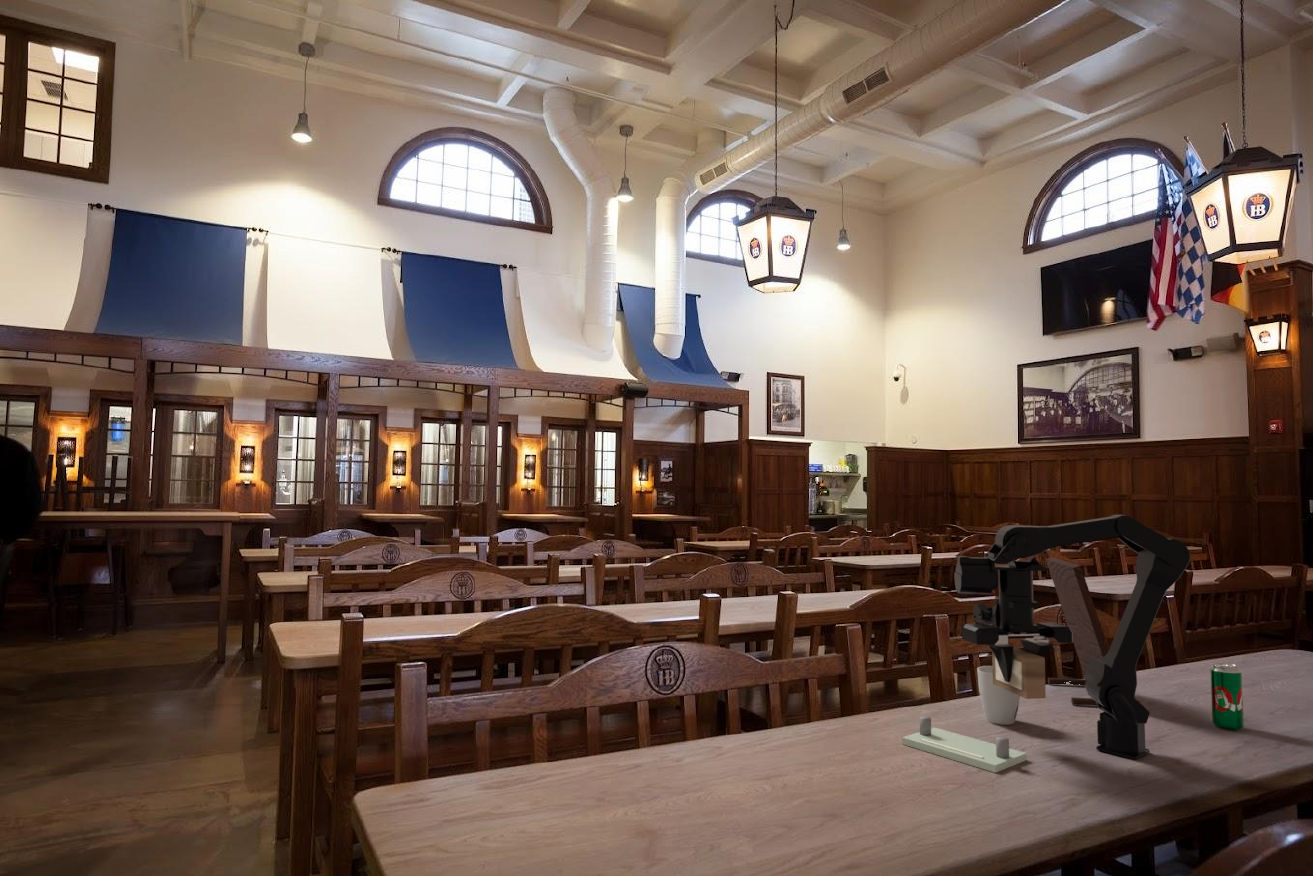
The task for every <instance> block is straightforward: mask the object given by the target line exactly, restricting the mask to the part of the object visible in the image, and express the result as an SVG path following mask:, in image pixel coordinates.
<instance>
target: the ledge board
mask: <svg viewBox="0 0 1313 876" xmlns="http://www.w3.org/2000/svg"><path fill="white" fill-rule="evenodd" d="M901 741H902V742H901V744H902V745H903V746H908V747H911V748H914V749H917V750H920V751H923V752H926V753H927V752H928V753H929V754H930V753H931V754H932V755H937V756H940V757H943V758H946V759H949V760H953V761H956V762H960V763H962V764H966V765H969V766H972V767H976V768H978V769H982V770H985V771H988V772H991V773H998V772H1001V771H1004V770H1006V769H1008V768H1011V767H1013V766H1015V765H1019V764H1021V763H1023V762H1026V761H1027V760H1028V755H1027V752H1024V751H1021V750H1017V749H1013V748H1010V738H1008V737H1005V736H996V737H995V743H991V742H987V741H984V740H981V739H978V738H974V737H971V736H967V735H963V734H959V733H956V732H952V731H949V730H946V729H943V728H937V727H934V726H933V727H932V717H930V716H924V715H921V716H919V731H918V732H915V733H912V734H908V735H906V736H903V737H902V738H901Z"/></svg>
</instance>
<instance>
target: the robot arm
mask: <svg viewBox="0 0 1313 876" xmlns="http://www.w3.org/2000/svg"><path fill="white" fill-rule="evenodd" d="M1111 539H1118V540H1120V542H1122V543H1123V544H1125V546H1127V547H1128V549H1131V550H1132V551H1134V552H1135V553H1136V554H1137V558H1136V562H1135V569H1136V571H1135V572H1136V582H1135V585H1134V587H1133V590H1132V592H1131V595H1130V598H1129V600H1128V602H1127V605H1126V608H1125V609H1124V613H1123V614H1122V617H1121V620H1120V622H1119V624H1118V627H1117V630H1116V632H1115V635H1114V637H1113V640H1112V641H1111V644H1110V646H1109V651H1108V653H1107V654H1106V655H1105V656H1104V657H1103V658H1102V659H1101V660H1100V661H1099V660H1097V659H1095V658H1092V659H1091V661H1090V665H1089V669H1088V671H1087V673H1086V674H1085V675H1084V674H1083V679H1086V683H1085V685H1084V687H1085V690H1086V692H1087V694H1088V696H1089V698H1092V699H1093V700H1095V701H1096V703H1097V705H1098V706H1097V708H1098V709H1099V710H1101V711H1102V712H1100V713H1099V719H1098V720H1097V722H1096V726H1097V727H1096V730H1097V743H1098V745H1097V746H1096V751H1100V752H1103V753H1108V754H1112V755H1116V756H1120V757H1125V758H1128V759H1132V760H1137V759H1139V758H1141V757H1144V756H1145V755H1147V754H1150V753H1151V750H1150V749H1149V748H1146V747H1147V746H1146V726H1145V724H1147V723H1148V720H1149V717H1150V714H1151V712H1150V711H1149V710H1148V708H1146V707H1145V706H1144V705H1143V704H1142V703H1141V702H1140V701H1139V700H1137V698H1135V697H1136V692H1137V687H1138V677H1137V664H1138V662H1139V659H1140V657H1141V653H1142V651H1143V649H1144V647H1145V644H1146V641H1147V639H1148V636H1149V635H1150V631H1151V629H1152V626H1153V625H1154V621H1155V619H1156V617H1157V614H1158V612H1159V609H1160V606H1161V604H1162V602H1163V600H1164V596H1165V594H1166V592H1167V591H1168V590H1169V589H1170V588H1171V587H1172V586H1173V585H1174V584H1175V583H1176V582H1177V581H1179V579H1181V576H1183V573H1184V572H1185V571H1186V569H1187V568H1188V566H1189V564H1190V562H1191V558H1192V556H1191V552H1190V551H1189V548H1188V546H1187V545H1186V544H1185V543H1184V542H1182V541H1180V540H1178V539H1174V538H1169V537H1168V538H1167V537H1166V536H1164V535H1162V534H1161V533H1159V532H1158V531H1156V530H1154V529H1152V528H1150V527H1148V526H1146V525H1145V524H1142V523H1141V522H1139V521H1137V520H1136V519H1135V518H1134V517H1132V516H1130V515H1127V514H1113V515H1110V516H1105V517H1099V518H1094V519H1087V520H1086V519H1085V520H1080V521H1079V520H1078V521H1074V522H1068V523H1067V522H1066V523H1060V524H1052V525H1047V526H1045V525H1040V526H1039V525H1008V524H1007V525H1005V526H1003V527H1001V528H999V530H998V531H997V532H996V534H995V538H994V543H993V544H992V545H991V547H990V548H989V549H988V551H987V552H986V554H984V556H983V557H978V556H977V557H973V556H972V557H971V556H965V555H958V556H957V557H956V559H957V562H956V565H955V571H954V577H953V578H954V585H955V589H956V590H955V591H956V592H957V593H958V594H970V595H971V594H978V595H979V594H981V595H991V594H992V592H993V591H995V590H996V589H997V588H998V597H995V599H994V606H993V607H989V606H988V605H987V603H976V604H974V605H973V608H972V609H973V610H972V611H973V613H972V615H973V620H974V621H975V623H965V624H964V625H963V627H962V629H961V639H962V640H963V641H967V642H969V643H972V644H975V645H979V646H987V647H988V648H990V650H991V652H992V651H993V653H994V655H995V657H996V659H997V662H998V664H999V667H1000V670H1001V672H1002V675H1003V677H1004V680H1005V681H1006V682H1010V679H1011V674H1012V660H1013V647H1014V645H1010V644H1009V639H1020V642H1021V645H1022V647H1023V650H1024V651H1027V652H1029V653H1032V654H1035V655H1038V656H1041V657H1044V658H1045V657H1046V654H1047V653H1048V652H1049V650H1050V649H1052V648H1053V649H1054V647H1055V646H1054V644H1052V643H1049V641H1050V640H1049V639H1053V640H1054V641H1055V642H1056V643H1058V644H1072V643H1073V633H1072V631H1071V629H1070V628H1069V627H1068V625H1064V624H1061V623H1057V622H1051V621H1050V622H1048V621H1047V622H1036V623H1035V622H1034V621H1035V619H1034V618H1035V617H1034V616H1035V615H1034V612H1035V611H1034V609H1038V608H1039V603H1038V601H1035V600H1034V584H1033V583H1034V573H1033V571H1034V572H1045V571H1046V567H1045V566H1044V565H1042V564H1041V563H1040V562H1039V561H1038V559H1037V558H1036V557H1034V556H1036V555H1039V554H1042V553H1044V552H1047V551H1049V550H1051V549H1053V548H1057V547H1064V546H1068V545H1069V546H1070V545H1076V544H1083V543H1091V542H1096V541H1097V542H1098V541H1104V540H1111ZM1026 558H1027V560H1023V559H1026ZM1016 559H1018V560H1016ZM1019 559H1021V560H1019ZM1007 564H1008V565H1007Z"/></svg>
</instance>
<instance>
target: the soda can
mask: <svg viewBox="0 0 1313 876" xmlns="http://www.w3.org/2000/svg"><path fill="white" fill-rule="evenodd" d="M1211 665H1212V666H1211V667H1210V669H1209V672H1210V696H1211V697H1210V699H1211V722H1212V724H1213V725H1214V727H1216V728H1218V729H1222V730H1225V731H1234V732H1235V731H1241V730H1242V729H1243V728H1244V727H1245V721H1244V720H1245V718H1244V714H1245V713H1244V696H1243V695H1244V694H1243V692H1244V691H1243V672H1242V671H1241V669H1240V666H1239V665H1236V664H1232V663H1225V662H1214V663H1211Z"/></svg>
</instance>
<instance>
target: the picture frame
mask: <svg viewBox="0 0 1313 876" xmlns="http://www.w3.org/2000/svg"><path fill="white" fill-rule="evenodd" d="M1045 561H1046V563H1047V564H1046V565H1047V567H1048V570H1049V573H1050V576H1051V579H1052V583H1053V585H1054V588H1055V591H1056V595H1057V598H1058V600H1059V604H1060V607H1061V609H1062V612H1063V615H1064V619H1065V622H1066V624H1067V625H1066V626H1068V627H1069V628H1070V629H1071V631H1072V633H1073V642H1072V643H1073V644H1074V646H1073V647H1074V649H1075V652H1076V655H1077V658H1078V661H1079V663H1080V666H1081V669H1082V673H1083V676H1084V675H1085V674H1086V673H1087V671H1088V669H1089V665H1090V661H1091V659H1092V658H1095V659H1097V660H1099V661H1100V660H1101V659H1102V658H1103V657H1104V656H1105V655H1106V654H1107V653H1108V651H1109V649H1110V647H1109V645H1108V642H1107V640H1106V636H1105V634H1104V631H1103V628H1102V625H1101V621H1100V619H1099V615H1098V613H1097V611H1096V607H1095V604H1094V601H1093V598H1092V595H1091V593H1090V589H1089V587H1088V583H1087V580H1086V578H1085V575H1084V571H1083V569H1082V566H1081V565H1080V564H1076V563H1073V562H1069V561H1066V560H1063V559H1059V558H1057V557H1053V556H1052V557H1048V558H1045ZM1069 681H1071V682H1069ZM1064 682H1065V683H1064ZM1066 682H1069V683H1070V684H1073V685H1072V686H1085V683H1086V679H1085V678H1062V677H1061V678H1060V677H1047V684H1048V685H1059V684H1066ZM1079 684H1080V685H1079ZM1070 702H1071V705H1074V704H1076V705H1078V706H1079V705H1080V706H1097V707H1098V705H1097V703H1096V701H1095V700H1093V699H1092V698H1091V697H1071V698H1070ZM1076 705H1075V706H1076Z"/></svg>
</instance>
